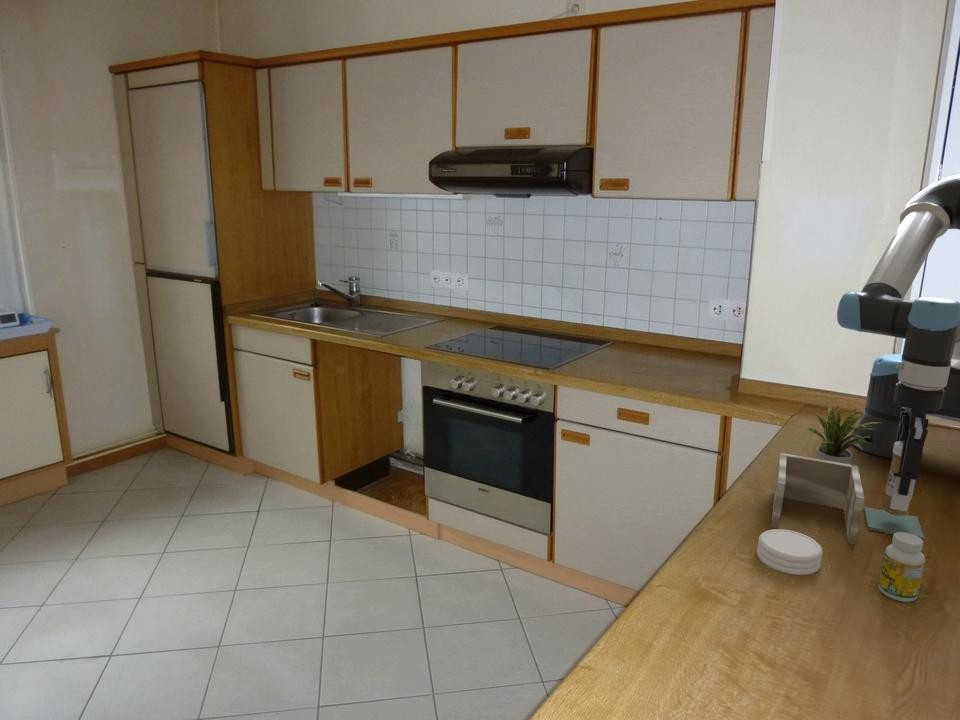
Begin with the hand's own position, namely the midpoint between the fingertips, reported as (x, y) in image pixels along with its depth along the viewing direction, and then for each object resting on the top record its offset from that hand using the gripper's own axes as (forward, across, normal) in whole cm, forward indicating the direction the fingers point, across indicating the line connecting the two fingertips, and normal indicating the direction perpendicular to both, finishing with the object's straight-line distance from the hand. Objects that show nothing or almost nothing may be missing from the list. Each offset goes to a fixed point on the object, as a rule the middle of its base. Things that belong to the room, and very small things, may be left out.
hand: (896, 503), depth 132 cm
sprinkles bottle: (+2, 0, 0) cm, 2 cm away
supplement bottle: (+5, +26, -2) cm, 26 cm away
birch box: (+4, +4, -14) cm, 15 cm away
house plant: (+5, -17, -10) cm, 20 cm away
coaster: (+5, +23, -18) cm, 30 cm away
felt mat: (+4, 0, 0) cm, 4 cm away
